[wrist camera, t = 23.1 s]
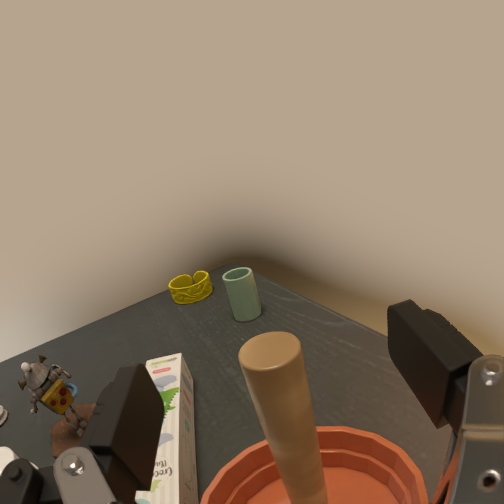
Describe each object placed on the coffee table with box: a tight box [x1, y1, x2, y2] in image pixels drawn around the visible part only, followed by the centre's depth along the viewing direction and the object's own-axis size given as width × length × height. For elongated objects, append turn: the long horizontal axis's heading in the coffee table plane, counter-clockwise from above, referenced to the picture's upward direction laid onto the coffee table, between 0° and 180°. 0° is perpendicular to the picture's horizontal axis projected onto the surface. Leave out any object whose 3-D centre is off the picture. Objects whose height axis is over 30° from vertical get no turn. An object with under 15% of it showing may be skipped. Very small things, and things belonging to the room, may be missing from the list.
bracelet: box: [169, 271, 213, 304], centre depth 61 cm, size 7×8×3 cm
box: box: [135, 353, 199, 504], centre depth 23 cm, size 4×4×28 cm
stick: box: [238, 332, 329, 504], centre depth 13 cm, size 2×2×18 cm
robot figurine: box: [18, 354, 97, 459], centre depth 28 cm, size 11×9×12 cm
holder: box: [222, 267, 262, 322], centre depth 49 cm, size 4×4×7 cm
